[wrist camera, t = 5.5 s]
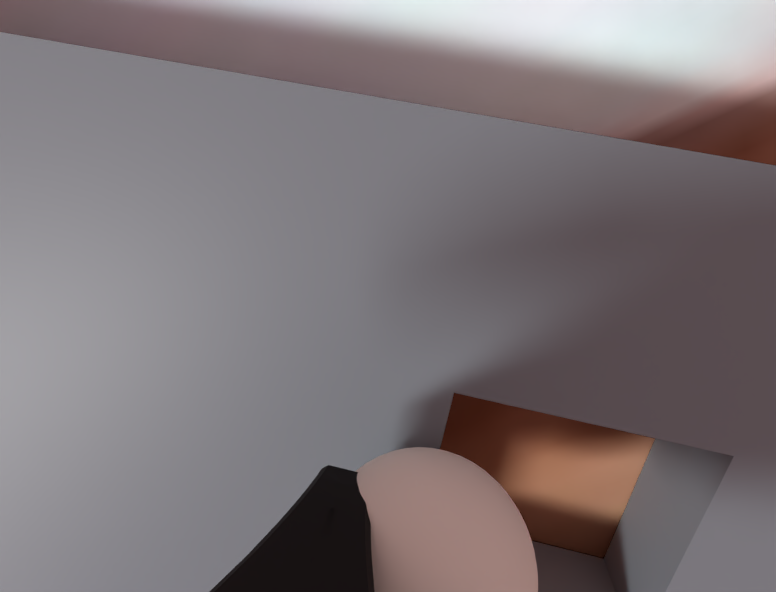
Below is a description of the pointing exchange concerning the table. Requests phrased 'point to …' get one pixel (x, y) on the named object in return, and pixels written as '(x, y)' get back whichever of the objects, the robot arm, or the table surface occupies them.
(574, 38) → the table surface
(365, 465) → the ball
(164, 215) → the plate
